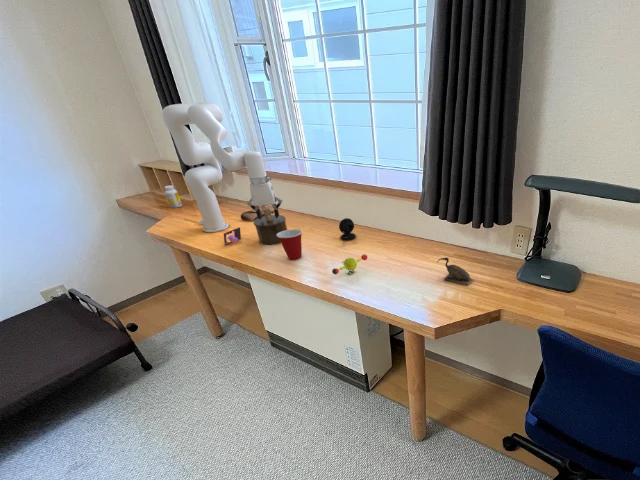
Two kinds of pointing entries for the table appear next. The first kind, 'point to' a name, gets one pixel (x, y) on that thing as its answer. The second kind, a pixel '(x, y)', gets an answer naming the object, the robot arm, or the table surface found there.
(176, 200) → the supplement bottle
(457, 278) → the figurine
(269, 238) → the basket
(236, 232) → the purple toy package
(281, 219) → the basket lid
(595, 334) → the table surface
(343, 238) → the webcam
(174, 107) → the robot arm
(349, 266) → the toy figure
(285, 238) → the plastic cup
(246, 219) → the sunglasses case
